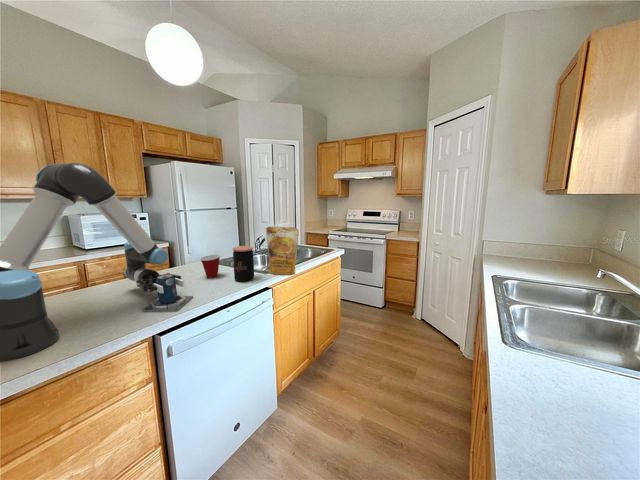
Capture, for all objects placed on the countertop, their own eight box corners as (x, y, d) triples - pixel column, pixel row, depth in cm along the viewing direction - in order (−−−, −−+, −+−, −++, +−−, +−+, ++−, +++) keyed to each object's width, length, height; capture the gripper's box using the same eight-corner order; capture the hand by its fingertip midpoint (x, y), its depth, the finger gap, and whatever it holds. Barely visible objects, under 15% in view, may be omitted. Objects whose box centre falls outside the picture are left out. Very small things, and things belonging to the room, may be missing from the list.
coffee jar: (230, 280, 140) (228, 248, 137) (244, 275, 149) (242, 245, 146) (244, 283, 135) (243, 250, 132) (258, 278, 145) (257, 247, 141)
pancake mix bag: (269, 271, 158) (267, 226, 153) (299, 272, 154) (298, 226, 149) (265, 274, 151) (263, 227, 146) (296, 276, 148) (295, 228, 143)
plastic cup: (201, 275, 149) (199, 255, 147) (221, 272, 154) (219, 253, 151) (201, 281, 140) (199, 259, 137) (222, 278, 144) (221, 257, 142)
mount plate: (142, 311, 103) (141, 307, 103) (162, 297, 117) (161, 293, 116) (177, 311, 103) (177, 306, 103) (193, 297, 117) (192, 293, 117)
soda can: (180, 302, 110) (176, 276, 107) (161, 307, 105) (157, 280, 102) (175, 297, 115) (172, 272, 112) (157, 302, 110) (153, 275, 108)
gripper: (170, 278, 127) (197, 287, 115) (121, 291, 110) (146, 304, 98) (169, 264, 126) (195, 271, 114) (119, 275, 109) (144, 285, 97)
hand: (173, 286), depth 106 cm, fingers open, 8 cm apart
